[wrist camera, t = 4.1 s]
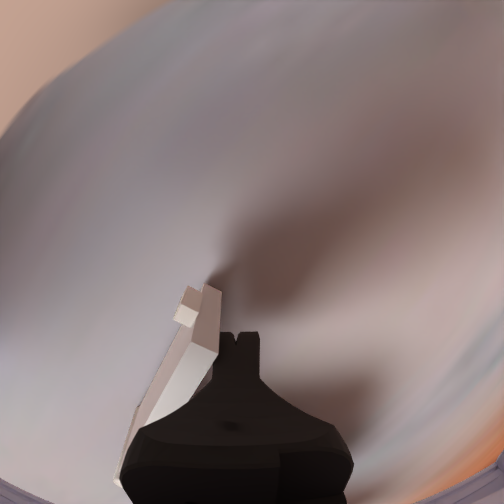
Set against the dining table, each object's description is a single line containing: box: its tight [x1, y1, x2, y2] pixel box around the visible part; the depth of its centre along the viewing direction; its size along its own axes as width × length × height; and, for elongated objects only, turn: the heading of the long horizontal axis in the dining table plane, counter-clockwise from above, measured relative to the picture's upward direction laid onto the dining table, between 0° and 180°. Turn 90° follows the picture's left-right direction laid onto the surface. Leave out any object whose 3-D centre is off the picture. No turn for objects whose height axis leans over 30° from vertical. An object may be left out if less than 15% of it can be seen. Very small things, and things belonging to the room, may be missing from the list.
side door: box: [113, 283, 222, 488], centre depth 10 cm, size 9×2×5 cm, turn 150°
